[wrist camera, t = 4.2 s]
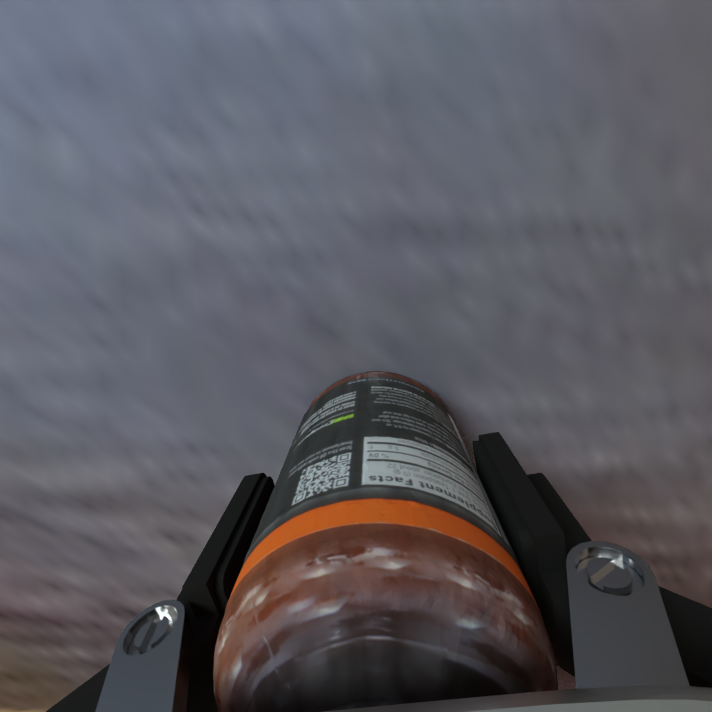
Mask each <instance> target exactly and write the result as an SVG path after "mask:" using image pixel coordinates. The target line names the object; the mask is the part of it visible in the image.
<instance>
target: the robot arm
mask: <svg viewBox="0 0 712 712" xmlns="http://www.w3.org/2000/svg"><path fill="white" fill-rule="evenodd" d="M473 449H474V455H475V461H476V468H477V473H478V476H479V478H480V480H481V482H482V484H483V487H484V489H485V491H486V493H487V495H488V497H489V500H490V502H491V504H492V506H493V508H494V510H495V513H496V515H497V517H498V519H499V522H500V524H501V526H502V528H503V530H504V533H505V535H506V537H507V539H508V541H509V543H510V545H511V548H512V550H513V552H514V554H515V556H516V558H517V560H518V563H519V565H520V567H521V570H522V572H523V575H524V577H525V579H526V581H527V583H528V586H529V588H530V590H531V592H532V595H533V597H534V599H535V601H536V604H537V606H538V608H539V610H540V613H541V616H542V618H543V621H544V624H545V627H546V630H547V632H548V635H549V638H550V641H551V644H552V647H553V650H554V655H555V660H556V666H558V665H559V667H560V668H562V669H563V670H565V671H566V672H568V673H569V674H571V675H572V676H574V677H575V680H576V689H569V690H554V691H540V692H528V693H517V694H506V695H495V696H484V697H473V698H462V699H451V700H440V701H429V702H419V703H408V704H397V705H387V706H377V707H366V708H356V709H346V710H335V711H325V712H712V608H709V607H707V606H705V605H702V604H700V603H697V602H695V601H693V600H690V599H688V598H685V597H683V596H681V595H678V594H676V593H673V592H671V591H669V590H666V589H664V588H661V587H659V586H658V584H657V581H656V578H655V576H654V574H653V572H652V570H651V568H650V566H649V565H648V564H647V563H646V562H645V561H644V560H643V559H642V558H641V557H639V556H638V555H636V554H635V553H633V552H632V551H630V550H629V549H626V548H624V547H621V546H619V545H617V544H613V543H608V542H604V541H591V539H590V538H589V537H588V535H587V534H586V533H585V531H584V530H583V528H582V527H581V526H580V524H579V523H578V521H577V520H576V519H575V517H574V516H573V515H572V513H571V512H570V510H569V509H568V508H567V506H566V505H565V503H564V502H563V501H562V499H561V498H560V497H559V495H558V494H557V492H556V491H555V490H554V488H553V487H552V485H551V484H550V483H549V481H548V480H547V479H546V477H545V476H544V475H543V474H542V473H536V474H530V475H526V473H525V472H524V470H523V469H522V467H521V466H520V464H519V462H518V461H517V459H516V458H515V456H514V455H513V453H512V452H511V450H510V449H509V447H508V445H507V444H506V442H505V441H504V439H503V438H502V436H501V435H500V433H499V432H495V433H489V434H484V435H479V441H473ZM274 487H275V485H274V482H273V480H272V478H271V477H267V476H266V475H265V474H264V473H259V474H254V475H248V476H245V477H244V478H243V480H242V482H241V483H240V485H239V487H238V489H237V491H236V492H235V494H234V496H233V498H232V499H231V501H230V503H229V505H228V507H227V508H226V510H225V512H224V514H223V516H222V517H221V519H220V521H219V523H218V524H217V526H216V528H215V530H214V532H213V533H212V535H211V537H210V539H209V540H208V542H207V544H206V546H205V548H204V549H203V551H202V553H201V555H200V557H199V558H198V560H197V562H196V564H195V565H194V567H193V569H192V571H191V573H190V574H189V576H188V578H187V580H186V581H185V583H184V585H183V587H182V588H183V589H182V591H181V593H180V594H179V596H178V598H177V600H164V601H161V602H158V603H156V604H154V605H152V606H150V607H148V608H146V609H145V610H144V611H143V612H141V613H140V614H139V615H137V616H136V617H135V618H134V619H133V620H132V621H131V622H130V623H129V624H128V625H127V626H126V628H125V629H124V631H123V632H122V633H121V635H120V637H119V639H118V641H117V643H116V646H115V649H114V652H113V656H112V659H111V662H110V664H109V665H108V666H106V667H105V668H104V669H102V670H101V671H100V672H98V673H97V674H96V675H94V676H93V677H92V678H90V679H89V680H88V681H86V682H85V683H84V684H82V685H81V686H80V687H78V688H77V689H76V690H74V691H73V692H72V693H70V694H69V695H68V696H66V697H65V698H64V699H62V700H61V701H60V702H58V703H57V704H56V705H54V706H53V707H52V708H50V709H49V710H48V711H46V712H219V711H218V707H217V703H216V699H215V695H214V679H213V669H214V652H215V646H216V641H217V637H218V633H219V629H220V626H221V623H222V620H223V617H224V614H225V610H226V606H227V603H228V601H229V598H230V596H231V593H232V591H233V588H234V586H235V583H236V581H237V578H238V576H239V574H240V571H241V569H242V566H243V563H244V560H245V557H246V554H247V552H248V550H249V548H250V546H251V543H252V540H253V538H254V536H255V533H256V531H257V529H258V526H259V524H260V521H261V518H262V516H263V513H264V511H265V509H266V506H267V504H268V501H269V499H270V496H271V494H272V491H273V489H274Z"/></svg>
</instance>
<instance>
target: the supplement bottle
mask: <svg viewBox="0 0 712 712" xmlns="http://www.w3.org/2000/svg"><path fill="white" fill-rule="evenodd" d="M213 679H214V695H215V699H216V703H217V707H218V711H219V712H325V711H335V710H346V709H356V708H366V707H377V706H387V705H397V704H408V703H419V702H429V701H440V700H451V699H462V698H473V697H484V696H495V695H506V694H517V693H528V692H540V691H554V690H558V682H557V671H556V660H555V655H554V650H553V647H552V644H551V641H550V638H549V635H548V632H547V630H546V627H545V624H544V621H543V618H542V616H541V613H540V610H539V608H538V606H537V604H536V601H535V599H534V597H533V595H532V592H531V590H530V588H529V586H528V583H527V581H526V579H525V577H524V575H523V572H522V570H521V567H520V565H519V563H518V560H517V558H516V556H515V554H514V552H513V550H512V548H511V545H510V543H509V541H508V539H507V537H506V535H505V533H504V530H503V528H502V526H501V524H500V522H499V519H498V517H497V515H496V513H495V510H494V508H493V506H492V504H491V502H490V500H489V497H488V495H487V493H486V491H485V489H484V487H483V484H482V482H481V480H480V478H479V476H478V473H477V471H476V469H475V467H474V464H473V462H472V460H471V458H470V456H469V454H468V451H467V449H466V447H465V445H464V443H463V440H462V438H461V436H460V434H459V432H458V429H457V427H456V425H455V423H454V421H453V419H452V418H451V416H450V414H449V412H448V410H447V409H446V408H445V406H444V404H443V403H442V401H440V399H439V398H438V397H437V396H436V395H435V394H434V393H433V392H432V391H431V390H429V389H428V388H427V387H425V386H424V385H422V384H421V383H419V382H417V381H415V380H413V379H411V378H408V377H406V376H403V375H399V374H395V373H390V372H380V371H372V372H366V373H360V374H356V375H352V376H348V377H346V378H344V379H342V380H339V381H337V382H336V383H334V384H332V385H331V386H330V387H328V388H327V389H325V390H324V391H323V392H322V393H321V394H320V395H319V396H318V397H317V398H316V399H315V400H314V401H313V402H312V404H311V405H310V407H309V409H308V410H307V412H306V414H305V415H304V417H303V419H302V421H301V424H300V426H299V428H298V431H297V433H296V436H295V438H294V440H293V443H292V445H291V447H290V450H289V452H288V455H287V458H286V460H285V463H284V465H283V468H282V470H281V472H280V475H279V477H278V480H277V482H276V485H275V487H274V489H273V491H272V494H271V496H270V499H269V501H268V504H267V506H266V509H265V511H264V513H263V516H262V518H261V521H260V524H259V526H258V529H257V531H256V533H255V536H254V538H253V540H252V543H251V546H250V548H249V550H248V552H247V554H246V557H245V560H244V563H243V566H242V569H241V571H240V574H239V576H238V578H237V581H236V583H235V586H234V588H233V591H232V593H231V596H230V598H229V601H228V603H227V606H226V610H225V614H224V617H223V620H222V623H221V626H220V629H219V633H218V637H217V641H216V646H215V652H214V669H213Z"/></svg>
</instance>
